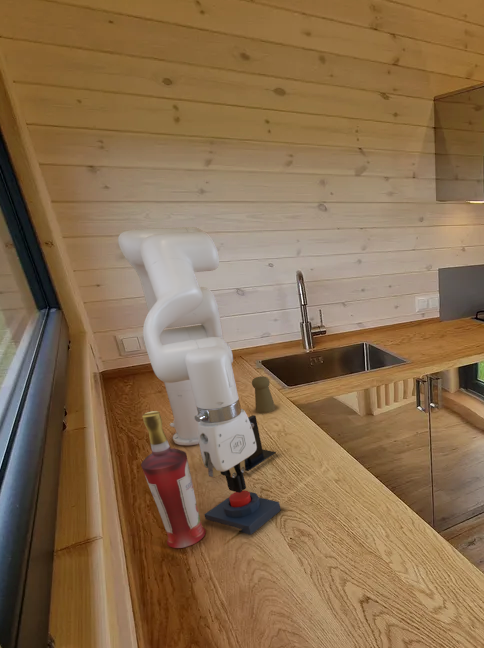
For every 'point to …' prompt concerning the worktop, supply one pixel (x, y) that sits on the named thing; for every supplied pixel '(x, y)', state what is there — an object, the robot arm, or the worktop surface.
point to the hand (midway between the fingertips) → (237, 489)
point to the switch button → (240, 499)
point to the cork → (263, 395)
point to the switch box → (244, 513)
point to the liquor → (171, 486)
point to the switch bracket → (259, 453)
